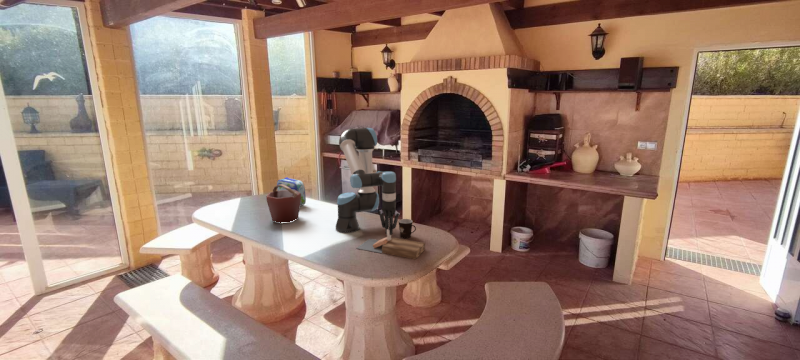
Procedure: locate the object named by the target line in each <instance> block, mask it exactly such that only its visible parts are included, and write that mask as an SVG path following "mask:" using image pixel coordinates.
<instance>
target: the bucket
mask: <svg viewBox="0 0 800 360" xmlns="http://www.w3.org/2000/svg"><path fill="white" fill-rule="evenodd" d="M279 186H282V187H284V188H285V189H287V190H280V191H277V188H278V187H279ZM300 202H301V193H299V192H298V191H296V190H292V189H291V188H289V187H288V186H286V185H283V184H280V185H277V184H276V185H275V186H273V188H272V191H270V192H269V193H268V194H267V195H266V203H267V207H268V209H269V213H270V216H271V220H272V222H273V221H276V222H280V223H281V222H290V221H293V220H295V219H297V218H298V219H299V216H300V215H299V214H300V207H301V206H300ZM298 219H297V220H298ZM295 221H296V220H295ZM280 223H279V224H280Z"/></svg>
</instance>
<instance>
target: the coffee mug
mask: <svg viewBox="0 0 800 360" xmlns="http://www.w3.org/2000/svg"><path fill="white" fill-rule="evenodd" d="M413 228H414V230H413V231H412V229H413ZM398 229H399V237H400V239H410V238H411V237H412V234H413V233H414V232H415V231H416V230H417V228H416V226H415V225H413V220H412V219H410V218H409V219H408V218H401V219H398Z"/></svg>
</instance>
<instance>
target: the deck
mask: <svg viewBox="0 0 800 360" xmlns="http://www.w3.org/2000/svg"><path fill="white" fill-rule="evenodd" d="M425 250H426V242H421V241H415V240H410V239H405V238H399V237H391V240H390V241H388V242H387V243H386V244H384V245H383V246H382V253H381V254H387V255H393V256H398V257H401V258H408V259H413V260H416V259H417V258H419V257H420V255H422V253H423V252H424V251H425Z"/></svg>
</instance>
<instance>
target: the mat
mask: <svg viewBox="0 0 800 360" xmlns="http://www.w3.org/2000/svg"><path fill="white" fill-rule="evenodd" d="M379 240H380V239H375V238H368V239H367V240H365V241H364V242H363V243H362V244H360V245H358V246H357V247H356V249H357V250H361V251H365V252H366V251H367V252H372V253H378V254H383V253H382V246H383V245H381V246H379V247H376V248H374V247H373V244H375V243H376V242H377V241H379ZM356 249H355V250H356Z"/></svg>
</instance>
